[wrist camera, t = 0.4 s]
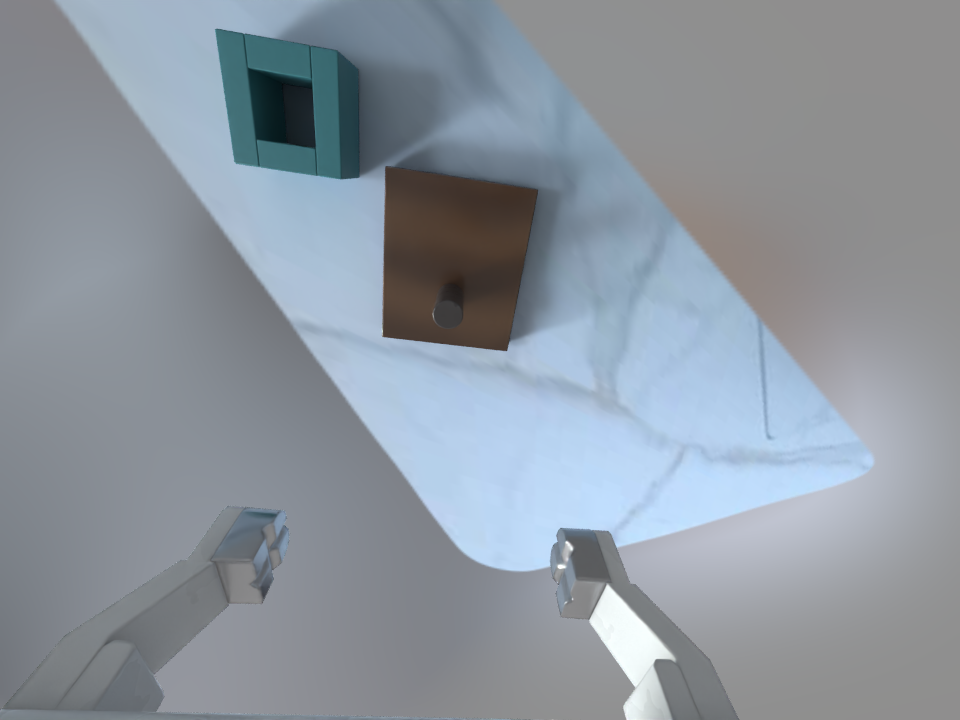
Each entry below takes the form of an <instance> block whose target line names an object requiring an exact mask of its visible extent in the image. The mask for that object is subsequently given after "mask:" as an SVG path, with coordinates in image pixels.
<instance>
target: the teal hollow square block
mask: <svg viewBox="0 0 960 720" xmlns="http://www.w3.org/2000/svg"><path fill="white" fill-rule="evenodd" d="M215 32H216V39H217V46H218V52H219V59H220V66H221V73H222V80H223V87H224V94H225V101H226V107H227V114H228V121H229V128H230V135H231V142H232V149H233V155H234V162H235V163H236V164H241V165H248V166H255V167H261V168H268V169H275V170H281V171H288V172H295V173H301V174H308V175H314V176H321V177H328V178H335V179H351V178H359V93H358V69H357V68H356V67H355V66H354V65H353V64H352V63H351V62H350V61H348V60H347V59H346V58H345V57H344V56H343V55H342V54H341V53H340V52H338V51H337V50H332V49H327V48H321V47H316V46H309V45H305V44H300V43H294V42H289V41H283V40H278V39H272V38H267V37H261V36H256V35H250V34H243V33H238V32H233V31H227V30H222V29H215ZM282 83H283V84H288V85H294V86H300V87H306V88H312V89H313V103H314V121H315V139H316V148H313V147H307V146H300V145H294V144H288V143H287V137H286V126H285V114H284V103H283V91H282Z"/></svg>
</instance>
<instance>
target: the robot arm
mask: <svg viewBox="0 0 960 720" xmlns="http://www.w3.org/2000/svg"><path fill="white" fill-rule="evenodd" d="M285 521H286V513H285V511H283V510H272V509H261V508H250V507H237V506H227V507H226V508H225V509H224V510H222V512H221V513H220V514H219V516H218V517H217V518H216V520H215V521H214V523H213V524H212V525H211V527H210V528H209V530H208V531H207V533H206V534H205V535H204V537H203V538H202V540H201V541H200V542H199V544H198V545H197V546H196V548H195V549H194V551H193V552H192V554H191V555H190V556H189V558H188V559H187V560H180V561H178V562H177V563H175V564H174V565H172V566H171V567H169V568H168V569H166V570H165V571H163V572H162V573H160V574H159V575H157V576H156V577H154V578H152V579H151V580H149V581H148V582H146V583H145V584H143V585H142V586H140V587H139V588H137V589H135V590H134V591H133V592H131V593H129V594H128V595H126V596H125V597H123V598H122V599H120V600H119V601H117V602H116V603H114V604H113V605H111V606H109V607H108V608H106V609H105V610H103V611H102V612H100V613H99V614H97V615H96V616H94V617H93V618H91V619H90V620H88V621H86V622H85V623H83V624H82V625H80V626H79V627H77V628H76V629H74V630H73V631H71V632H69V633H68V634H66V635H65V636H64V637H63V638H62V639H61V640H60V642H59V643H58V644H57V645H56V646H55V648H54V649H53V650H52V651H51V652H50V653H49V654H48V656H47V657H46V658H45V659H44V660H43V661H42V663H41V664H40V665H39V666H38V667H37V669H36V670H35V671H34V672H33V673H32V674H31V675H30V677H29V678H28V679H27V680H26V681H25V682H24V683H23V685H22V686H21V687H20V688H19V689H18V690H17V692H16V693H15V694H14V695H13V696H12V698H11V699H10V700H9V701H8V702H7V703H6V705H5V706H4V707H3V708H2V709H0V720H527V719H482V718H480V719H479V718H432V717H384V716H383V717H381V716H335V715H333V716H332V715H285V714H284V715H283V714H235V713H231V714H230V713H184V712H156V711H157V709H158V707H159V706H160V704H161V702H162V700H163V699H164V692H163V689H162V687H161V686H160V684H159V682H158V681H157V679H156V677H155V676H154V674H155V673H156V672H158V671H159V670H160V669H161V668H162V667H163V666H164V665H165V664H166V663H167V662H168V661H169V660H170V659H172V658H173V657H174V656H175V655H176V654H177V653H178V652H179V651H180V650H181V649H182V648H183V647H184V646H186V645H187V644H188V643H189V642H190V641H191V640H192V639H193V638H194V637H195V636H196V635H197V634H199V633H200V632H201V631H202V630H203V629H204V628H205V627H206V626H207V625H208V624H209V623H210V622H212V621H213V620H214V619H215V618H216V617H217V616H218V615H219V614H220V613H221V612H222V611H223V610H225V609H226V608H227V607H228V605H229V604H262V603H263V601H264V599H265V597H266V595H267V592H268V590H269V588H270V586H271V584H272V582H273V580H274V578H273V573H272V570H274V569H275V568H276V567H277V566H279V565H280V564H281V563H282V561H283V558H284V556H285V554H286V551H287V547H288V543H289V530H288V528H287V527H286V526H285V525H284V523H285ZM556 536H557V541H558V542H557V543H555V544H554V545H553V547H552V550H551V559H550V564H551V572H552V577H553V579H554V580H555V582H556V583H557V584H558V585H559V586H558V589H557V591H556V597H557V602H558V606H559V611H560V616H561V617H563V618H576V619H589V622H590V624H591V625H592V626H593V628H594V629H595V631H596V632H597V633H598V635H599V636H600V638H601V639H602V641H603V642H604V643H605V645H606V646H607V648H608V649H609V651H610V652H611V653H612V655H613V656H614V658H615V659H616V660H617V662H618V663H619V665H620V666H621V668H622V669H623V670H624V672H625V673H626V675H627V676H628V678H629V679H630V680H631V682H632V683H633V685H634V686H635V690H634V691H633V692H632V694H631V695H630V697H629V698H628V700H627V701H626V703H625V704H624V706H623V709H624V712H625V716H626V720H739V718H738V716H737V715H736V712H735V710H734V708H733V706H732V704H731V702H730V700H729V698H728V696H727V694H726V691H725V689H724V688H723V685H722V683H721V681H720V679H719V677H718V675H717V673H716V671H715V669H714V667H713V665H712V663H711V661H710V659H709V658H708V657H707V656H706V655H705V654H704V653H703V652H702V651H701V650H700V649H699V648H698V647H697V646H696V645H695V644H694V643H693V642H692V641H691V640H690V639H689V638H688V637H687V636H686V635H685V634H684V633H683V632H682V631H681V630H680V629H679V628H678V627H677V626H676V625H675V624H674V623H673V622H672V621H671V620H670V619H669V618H668V617H667V616H666V615H665V614H664V613H663V612H662V611H661V610H660V609H659V608H658V607H657V606H656V605H655V604H654V603H653V602H652V601H651V600H650V599H649V598H648V596H647V595H646V594H644V593H643V591H641V590H640V589H639V587H638V586H637V585H635V584H630V581H629V579H628V576H627V573H626V571H625V568H624V566H623V563H622V561H621V558H620V556H619V553H618V551H617V548H616V545H615V543H614V540H613V538H612V535H611V534H610V532H609V531H600V530H591V529H570V528H560V529H559V530H558V533H557V535H556ZM528 720H531V719H528Z"/></svg>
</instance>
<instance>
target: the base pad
mask: <svg viewBox="0 0 960 720" xmlns="http://www.w3.org/2000/svg"><path fill="white" fill-rule="evenodd" d="M537 194H538V190H537V189H533V188H527V187H520V186H514V185H507V184H501V183H495V182H488V181H482V180H475V179H469V178H462V177H456V176H449V175H443V174H437V173H430V172H424V171H417V170H411V169H404V168H398V167H391V166H386V167H385V215H384V266H383V316H382V337H388V338H396V339H405V340H414V341H423V342H431V343H440V344H449V345H457V346H466V347H475V348H484V349H492V350H501V351H507V349H508V344H509V339H510V334H511V328H512V323H513V318H514V313H515V308H516V303H517V297H518V292H519V287H520V282H521V277H522V271H523V266H524V261H525V256H526V251H527V246H528V240H529V235H530V230H531V225H532V220H533V215H534V209H535V204H536V199H537Z"/></svg>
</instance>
